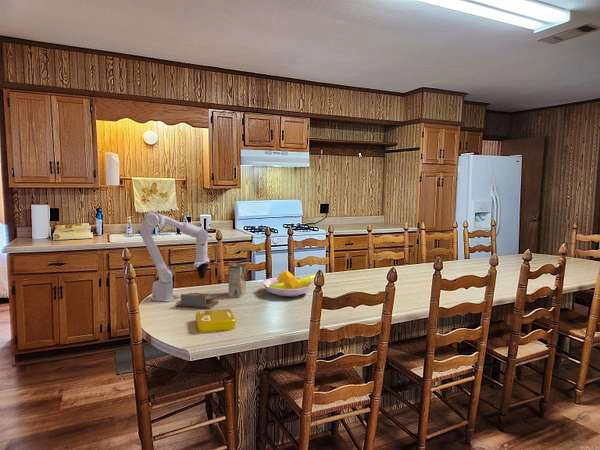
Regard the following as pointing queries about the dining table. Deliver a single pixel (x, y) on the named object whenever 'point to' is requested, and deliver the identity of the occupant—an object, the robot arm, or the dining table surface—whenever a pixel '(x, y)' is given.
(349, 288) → the dining table surface
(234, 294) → the coffee box
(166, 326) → the dining table surface
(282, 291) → the fruit bowl
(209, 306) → the shelf board
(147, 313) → the dining table surface
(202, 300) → the bookend
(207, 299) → the tin
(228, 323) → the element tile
